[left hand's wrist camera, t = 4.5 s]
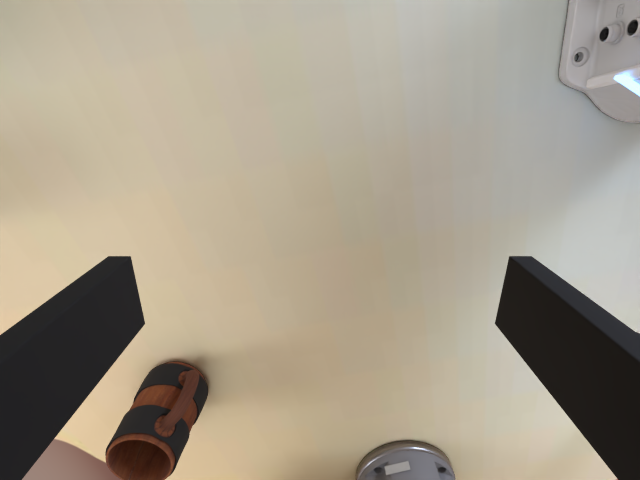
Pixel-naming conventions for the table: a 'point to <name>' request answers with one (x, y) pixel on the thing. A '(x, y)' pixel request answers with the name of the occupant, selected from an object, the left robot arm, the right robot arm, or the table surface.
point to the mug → (157, 423)
